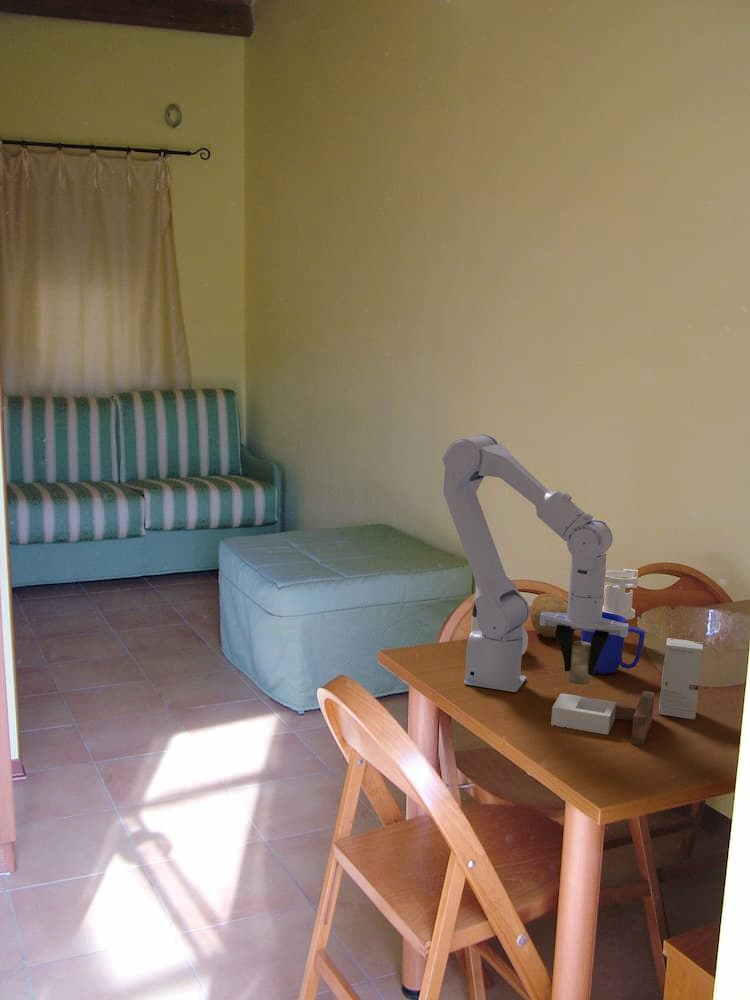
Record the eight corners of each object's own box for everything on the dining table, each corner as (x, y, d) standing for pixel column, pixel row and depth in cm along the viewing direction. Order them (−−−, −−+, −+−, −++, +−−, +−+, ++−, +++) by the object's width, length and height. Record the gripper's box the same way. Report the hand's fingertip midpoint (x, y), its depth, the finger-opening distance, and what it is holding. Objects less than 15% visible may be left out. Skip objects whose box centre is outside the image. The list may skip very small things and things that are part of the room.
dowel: (567, 682, 176) (569, 645, 175) (570, 676, 180) (573, 640, 178) (587, 685, 175) (590, 648, 174) (590, 679, 178) (593, 643, 177)
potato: (540, 648, 206) (543, 608, 205) (520, 627, 220) (522, 590, 218) (588, 647, 208) (591, 608, 206) (564, 626, 221) (567, 590, 220)
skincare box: (658, 715, 173) (664, 644, 170) (659, 706, 177) (665, 637, 175) (697, 720, 171) (703, 649, 169) (697, 711, 175) (703, 641, 173)
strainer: (635, 647, 209) (641, 574, 206) (600, 645, 209) (605, 572, 206) (629, 636, 216) (634, 565, 213) (594, 635, 216) (600, 564, 213)
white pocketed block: (551, 725, 167) (552, 707, 166) (559, 710, 173) (561, 693, 173) (608, 734, 164) (609, 716, 163) (614, 719, 170) (616, 701, 169)
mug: (631, 685, 186) (635, 631, 185) (569, 670, 194) (573, 618, 192) (649, 674, 193) (653, 621, 191) (589, 659, 200) (593, 609, 198)
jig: (547, 729, 165) (548, 702, 164) (562, 704, 176) (563, 678, 175) (643, 745, 160) (645, 717, 159) (652, 718, 171) (654, 692, 170)
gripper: (633, 593, 176) (626, 671, 178) (548, 582, 181) (542, 657, 183) (627, 604, 169) (620, 683, 172) (539, 592, 174) (533, 669, 177)
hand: (579, 671), depth 177 cm, fingers closed on dowel, 3 cm apart
